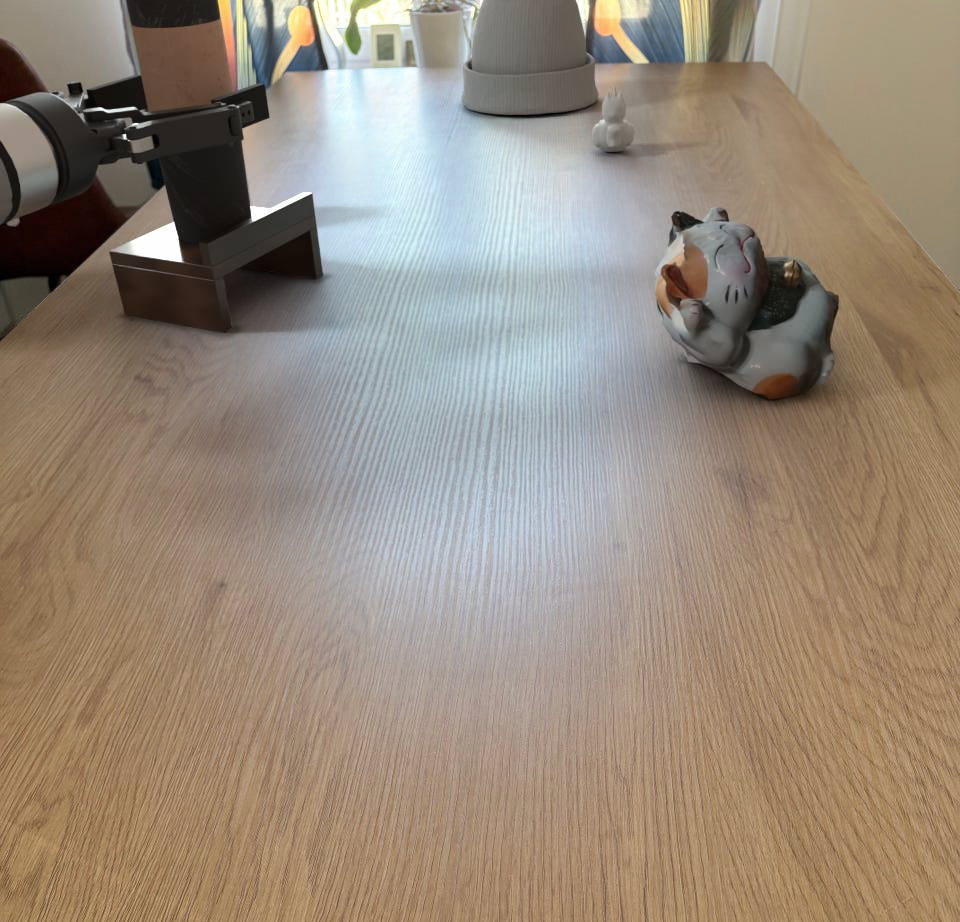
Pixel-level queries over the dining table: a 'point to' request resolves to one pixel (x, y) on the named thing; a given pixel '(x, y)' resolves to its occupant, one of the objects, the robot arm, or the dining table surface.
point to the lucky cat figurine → (744, 307)
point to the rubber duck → (613, 125)
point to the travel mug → (184, 83)
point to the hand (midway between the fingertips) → (202, 95)
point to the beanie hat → (529, 59)
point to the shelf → (214, 264)
